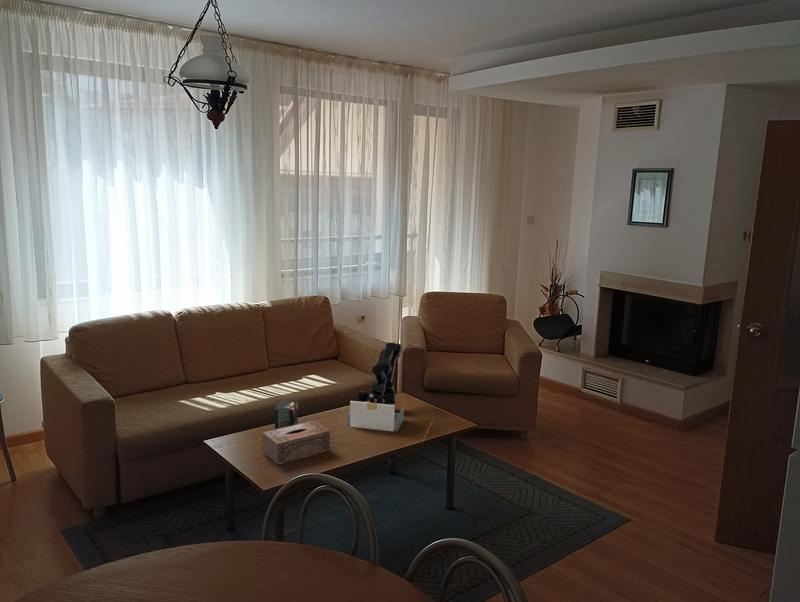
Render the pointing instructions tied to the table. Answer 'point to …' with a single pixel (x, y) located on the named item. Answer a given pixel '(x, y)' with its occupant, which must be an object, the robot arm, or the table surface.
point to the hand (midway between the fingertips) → (373, 413)
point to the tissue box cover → (296, 441)
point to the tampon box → (286, 414)
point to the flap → (372, 416)
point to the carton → (397, 419)
